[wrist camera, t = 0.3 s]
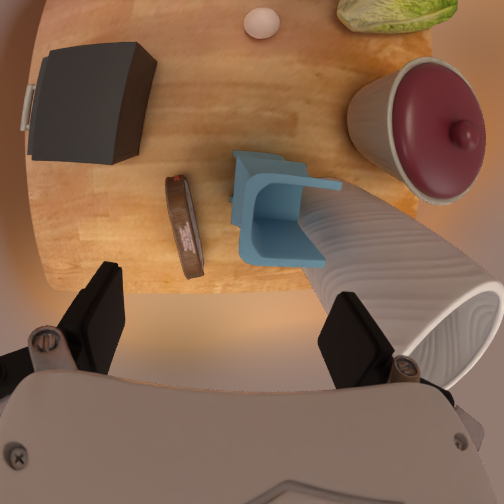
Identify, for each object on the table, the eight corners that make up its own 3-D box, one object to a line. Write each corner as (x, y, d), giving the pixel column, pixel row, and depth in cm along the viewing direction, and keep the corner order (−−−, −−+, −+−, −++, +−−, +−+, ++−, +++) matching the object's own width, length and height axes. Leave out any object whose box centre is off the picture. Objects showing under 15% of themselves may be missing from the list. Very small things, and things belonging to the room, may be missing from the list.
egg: (238, 20, 28) (241, 2, 22) (269, 15, 28) (279, -2, 22) (246, 46, 30) (251, 31, 24) (278, 41, 30) (289, 26, 24)
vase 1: (280, 205, 42) (325, 268, 24) (228, 201, 40) (236, 265, 22) (286, 155, 38) (343, 181, 20) (233, 150, 37) (245, 169, 19)
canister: (414, 81, 33) (507, 79, 15) (416, 176, 41) (503, 215, 23) (323, 66, 32) (406, 30, 13) (329, 177, 40) (411, 224, 21)
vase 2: (268, 247, 44) (336, 426, 16) (297, 162, 39) (457, 258, 11) (342, 264, 48) (441, 403, 19) (372, 191, 42) (524, 290, 14)
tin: (169, 173, 37) (157, 184, 30) (190, 168, 38) (182, 179, 30) (189, 262, 44) (184, 291, 37) (208, 260, 44) (206, 288, 37)
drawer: (38, 146, 31) (6, 155, 23) (51, 69, 25) (20, 63, 18) (120, 150, 34) (95, 157, 26) (137, 63, 29) (116, 48, 21)
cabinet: (69, 150, 33) (31, 160, 24) (84, 63, 27) (49, 50, 18) (138, 155, 36) (112, 165, 26) (157, 61, 30) (137, 41, 20)
